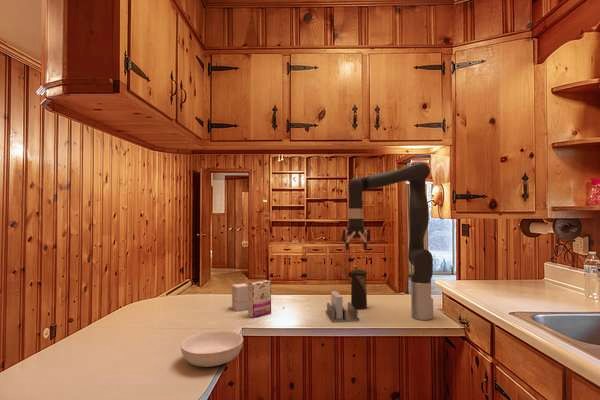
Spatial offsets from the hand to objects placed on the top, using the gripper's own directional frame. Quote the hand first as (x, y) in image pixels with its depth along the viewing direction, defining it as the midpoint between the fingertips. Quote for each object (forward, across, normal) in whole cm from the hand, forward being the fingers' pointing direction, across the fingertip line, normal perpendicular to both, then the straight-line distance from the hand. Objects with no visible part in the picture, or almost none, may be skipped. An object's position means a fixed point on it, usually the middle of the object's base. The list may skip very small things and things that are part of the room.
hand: (356, 250), depth 172 cm
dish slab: (+31, +10, +2) cm, 33 cm away
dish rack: (+32, +8, +2) cm, 33 cm away
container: (+32, -5, -13) cm, 35 cm away
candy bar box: (+32, +48, -6) cm, 58 cm away
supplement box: (+32, +58, -18) cm, 69 cm away
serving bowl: (+32, +64, +45) cm, 85 cm away
